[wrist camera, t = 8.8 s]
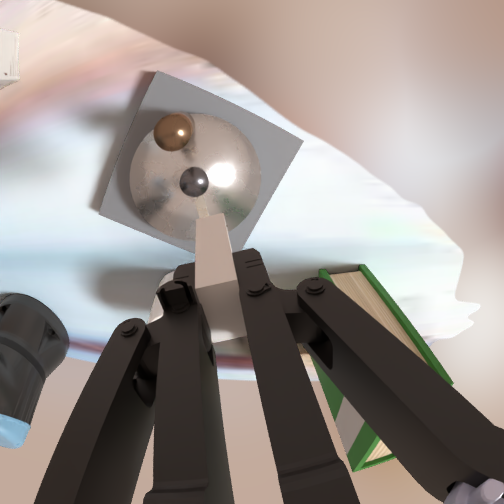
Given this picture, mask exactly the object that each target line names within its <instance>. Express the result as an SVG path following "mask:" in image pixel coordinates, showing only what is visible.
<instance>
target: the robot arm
mask: <svg viewBox="0 0 504 504" xmlns="http://www.w3.org/2000/svg"><path fill="white" fill-rule="evenodd" d="M156 294H157V297H158V299H159V301H160V304H161V306H162V308H163V316H162V317H161V318H159V319H157V320H155V321H153V322H151V323H148V324H145V322H144V321H143V320H142V319H139V318H132V319H128V320H125V321H123V322H122V323H121V324H119V325H118V326H117V328H116V329H115V330H114V332H113V334H112V336H111V337H110V339H109V341H108V343H107V345H106V346H105V348H104V350H103V352H102V354H101V356H100V358H99V360H98V361H97V363H96V365H95V367H94V369H93V371H92V373H91V375H90V377H89V379H88V381H87V383H86V385H85V387H84V389H83V391H82V393H81V395H80V397H79V399H78V401H77V403H76V405H75V407H74V409H73V411H72V413H71V416H70V418H69V420H68V422H67V424H66V426H65V428H64V431H63V433H62V435H61V437H60V440H59V442H58V444H57V447H56V449H55V451H54V454H53V456H52V458H51V460H50V463H49V466H48V468H47V470H46V473H45V475H44V478H43V480H42V483H41V486H40V488H39V491H38V493H37V496H36V499H35V502H34V504H131V501H132V498H133V494H134V490H135V487H136V483H137V480H138V476H139V473H140V469H141V466H142V462H143V459H144V456H145V452H146V449H147V446H148V442H149V439H150V436H151V432H152V429H153V426H154V457H153V488H152V490H150V491H149V492H147V493H146V494H145V497H144V499H143V504H234V497H233V491H232V485H231V478H230V471H229V464H228V458H227V450H226V443H225V435H224V427H223V420H222V412H221V403H220V394H219V385H218V376H217V366H216V356H215V351H214V348H213V345H212V339H213V342H214V343H216V342H220V341H225V340H230V339H234V338H239V337H244V336H247V337H248V342H249V346H250V351H251V356H252V361H253V365H254V370H255V375H256V379H257V384H258V388H259V393H260V398H261V402H262V407H263V411H264V415H265V420H266V424H267V429H268V433H269V438H270V442H271V446H272V451H273V455H274V459H275V464H276V468H277V472H278V480H279V485H280V489H281V493H282V498H283V502H284V504H360V502H359V499H358V496H357V494H356V491H355V488H354V486H353V483H352V480H351V477H350V475H349V472H348V470H347V468H346V466H345V464H344V462H343V461H342V460H341V459H340V458H339V457H338V455H337V453H336V450H335V447H334V445H333V442H332V439H331V436H330V434H329V431H328V428H327V425H326V423H325V420H324V417H323V415H322V412H321V409H320V407H319V404H318V401H317V399H316V396H315V393H314V391H313V387H312V385H311V382H310V379H309V377H308V374H307V371H306V369H305V366H304V363H303V361H302V358H301V355H300V352H299V350H298V347H297V344H296V343H302V344H303V346H304V348H305V349H306V350H307V352H308V353H309V354H310V355H311V356H312V358H313V359H314V360H315V361H316V363H317V364H318V365H319V366H320V367H321V369H322V370H323V371H324V372H325V374H326V375H327V376H328V377H329V378H330V380H331V381H332V382H333V383H334V384H335V386H336V387H337V388H338V389H339V391H340V392H341V393H342V394H343V395H344V397H345V398H346V399H347V400H348V401H349V403H350V404H351V405H352V406H353V407H354V409H355V410H356V411H357V412H358V413H359V414H360V416H361V417H362V418H363V419H364V420H365V422H366V423H367V424H368V425H369V426H370V428H371V429H372V430H373V431H374V432H375V433H376V435H377V436H378V437H379V438H380V439H381V441H382V442H383V443H384V444H385V445H386V446H387V448H388V449H389V450H390V451H391V452H392V453H393V455H394V456H395V457H396V458H397V459H398V460H399V462H400V463H401V464H402V465H403V466H404V467H405V469H406V470H407V471H408V472H409V473H410V474H411V475H412V477H413V478H414V479H415V480H416V481H417V482H418V483H419V484H420V485H421V486H422V487H423V488H424V489H425V490H426V491H427V492H428V493H430V494H431V495H432V496H434V497H435V498H436V499H438V500H440V501H441V502H443V504H504V429H502V428H499V427H497V426H494V425H493V424H492V423H491V422H490V421H489V420H488V419H487V418H486V417H485V416H484V415H483V414H482V413H481V412H479V411H478V410H477V409H476V408H475V407H474V406H473V405H472V404H471V403H469V401H467V400H466V399H465V398H464V397H463V396H462V395H461V394H460V393H459V392H458V391H456V390H455V389H454V388H453V387H452V386H451V385H450V384H449V383H448V382H447V381H445V380H444V379H443V378H442V377H441V376H440V375H439V374H438V373H436V372H435V371H434V370H433V369H432V368H431V367H430V366H429V365H427V364H426V363H425V362H424V361H423V360H422V359H421V358H420V357H418V356H417V355H416V354H415V353H414V352H413V351H412V350H410V349H409V348H408V347H407V346H406V345H405V344H404V343H402V342H401V341H400V340H399V339H398V338H397V337H396V336H394V335H393V334H392V333H391V332H390V331H389V330H387V329H386V328H385V327H384V326H383V325H382V324H380V323H379V322H378V321H377V320H376V319H375V318H373V317H372V316H371V315H370V314H369V313H368V312H366V311H365V310H364V309H363V308H362V307H361V306H359V305H358V304H357V303H356V302H355V301H353V300H352V299H351V298H350V297H349V296H347V295H346V294H345V293H344V292H343V291H342V290H340V289H339V288H338V287H337V286H336V285H334V284H333V283H332V282H331V281H329V280H327V279H325V278H320V277H315V278H309V279H305V280H304V281H302V282H300V284H299V285H298V286H297V290H283V289H279V288H276V287H275V286H274V285H273V284H272V283H271V282H270V279H269V277H268V274H267V271H266V269H265V266H264V263H263V260H262V258H261V255H260V252H258V251H257V250H255V249H254V248H251V249H246V250H242V251H238V252H233V253H232V249H231V244H230V240H229V236H228V231H227V227H226V222H225V218H224V213H221V214H216V215H212V216H207V217H203V218H199V219H196V244H195V262H193V263H188V264H184V265H180V266H178V267H177V269H176V270H175V271H174V274H173V280H171V281H168V282H166V283H164V284H163V285H162V286H160V287H159V288H158V290H157V292H156ZM211 336H212V339H211ZM68 348H69V337H68V334H67V331H66V329H65V327H64V325H63V324H62V322H61V321H60V319H59V318H58V317H57V316H56V315H55V314H54V313H53V312H52V311H51V310H50V309H49V308H48V307H47V306H45V305H44V304H42V303H41V302H39V301H38V300H36V299H34V298H32V297H29V296H26V295H21V294H13V295H9V296H7V297H6V298H4V299H3V301H2V302H1V303H0V446H2V447H6V448H12V449H13V448H14V449H15V448H19V447H21V446H22V445H23V443H24V441H25V439H26V436H27V434H28V431H29V430H30V428H31V427H30V424H31V421H32V418H33V415H34V412H35V409H36V406H37V402H38V400H39V397H40V394H41V391H42V388H43V385H44V383H45V380H46V378H47V377H48V376H49V375H50V374H51V373H52V372H53V371H54V370H55V369H56V368H57V367H58V366H59V365H60V364H61V363H62V361H63V360H64V358H65V356H66V354H67V351H68Z"/></svg>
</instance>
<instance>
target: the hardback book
mask: <svg viewBox="0 0 504 504" xmlns="http://www.w3.org/2000/svg"><path fill="white" fill-rule="evenodd" d="M319 277H320V278H325V279H327V280H329V281H331V282H332V283H333V284H334V285H336V286H337V287H338V288H339V289H340V290H342V291H343V292H344V293H345V294H346V295H347V296H349V297H350V298H351V299H352V300H353V301H355V302H356V303H357V304H358V305H359V306H361V307H362V308H363V309H364V310H365V311H366V312H368V313H369V314H370V315H371V316H372V317H373V318H375V319H376V320H377V321H378V322H379V323H380V324H382V325H383V326H384V327H385V328H386V329H387V330H389V331H390V332H391V333H392V334H393V335H394V336H396V337H397V338H398V339H399V340H400V341H401V342H402V343H404V344H405V345H406V346H407V347H408V348H409V349H410V350H412V351H413V352H414V353H415V354H416V355H417V356H418V357H420V358H421V359H422V360H423V361H424V362H425V363H426V364H427V365H429V366H430V367H431V368H432V369H433V370H434V371H435V372H436V373H438V374H439V375H440V376H441V377H442V378H443V379H444V380H445V381H447V382H448V383H449V384H450V385H451V386H452V385H453V381H452V380H451V378H450V377H449V375H448V374H447V373H446V371H445V370H444V368H443V367H442V365H441V364H440V362H439V361H438V360H437V358H436V357H435V355H434V354H433V352H432V351H431V350H430V348H429V347H428V345H427V344H426V343H425V341H424V340H423V338H422V337H421V336H420V334H419V333H418V332H417V330H416V329H415V328H414V326H413V325H412V324H411V322H410V321H409V320H408V318H407V317H406V316H405V314H404V313H403V312H402V310H401V309H400V308H399V306H398V305H397V304H396V303H395V301H394V300H393V299H392V297H391V296H390V295H389V294H388V292H387V291H386V290H385V289H384V287H383V286H382V285H381V284H380V282H379V281H378V280H377V279H376V277H375V276H374V275H373V274H372V273H371V271H370V270H369V269H368V268H367V266H366V265H365V264H363V265H359V270H358V271H357V272H349V273H340V274H332V275H329V274H328V272H327V271H326V269H319ZM310 356H311V355H310ZM311 359H312V361H313V364H314V367H315V369H316V372H317V375H318V378H319V380H320V383H321V385H322V388H323V391H324V394H325V396H326V399H327V402H328V405H329V408H330V410H331V413H332V416H333V418H334V421H335V424H336V427H337V429H338V432H339V435H340V438H341V440H342V444H343V446H344V449H345V452H346V455H347V457H348V460H349V463H350V466H351V469H352V472H356V471H359V470H362V469H365V468H369V467H372V466H375V465H377V464H380V463H383V462H386V461H389V460H391V459H394V458H396V457H395V456H394V455H393V453H392V452H391V451H390V450H389V449H388V448H387V446H386V445H385V444H384V443H383V442H382V441H381V439H380V438H379V437H378V436H377V435H376V433H375V432H374V431H373V430H372V429H371V428H370V426H369V425H368V424H367V423H366V422H365V420H364V419H363V418H362V417H361V416H360V414H359V413H358V412H357V411H356V410H355V409H354V407H353V406H352V405H351V404H350V403H349V401H348V400H347V399H346V398H345V397H344V395H343V394H342V393H341V392H340V391H339V389H338V388H337V387H336V386H335V384H334V383H333V382H332V381H331V380H330V378H329V377H328V376H327V375H326V374H325V372H324V371H323V370H322V369H321V367H320V366H319V365H318V364H317V363H316V361H315V360H314V359H313V358H312V356H311Z"/></svg>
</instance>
